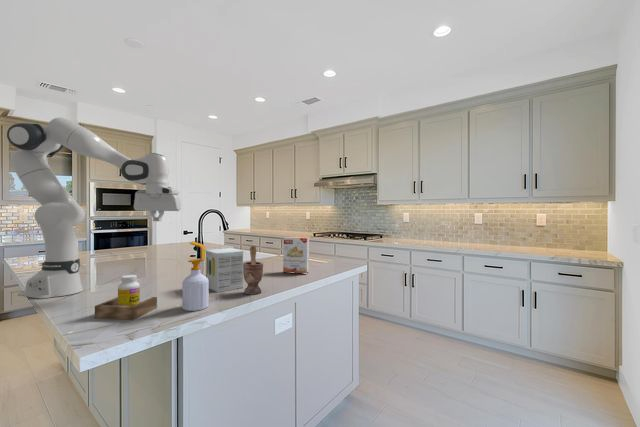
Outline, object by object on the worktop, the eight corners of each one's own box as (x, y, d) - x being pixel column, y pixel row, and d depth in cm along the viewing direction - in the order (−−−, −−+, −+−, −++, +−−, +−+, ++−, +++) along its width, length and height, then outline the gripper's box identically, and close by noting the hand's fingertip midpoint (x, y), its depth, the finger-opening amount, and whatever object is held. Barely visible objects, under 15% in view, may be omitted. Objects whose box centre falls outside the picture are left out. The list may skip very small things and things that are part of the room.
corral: (94, 317, 105) (94, 306, 105) (121, 306, 117) (121, 295, 117) (133, 319, 103) (133, 307, 103) (156, 307, 116) (156, 297, 116)
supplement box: (204, 286, 147) (204, 249, 147) (230, 282, 156) (231, 247, 156) (216, 292, 137) (216, 253, 137) (243, 287, 146) (243, 250, 146)
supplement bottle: (129, 315, 107) (129, 278, 107) (113, 314, 108) (113, 277, 108) (144, 309, 113) (144, 274, 113) (128, 308, 115) (128, 273, 115)
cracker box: (282, 273, 178) (283, 237, 178) (285, 271, 184) (286, 236, 184) (306, 274, 176) (307, 237, 175) (308, 272, 182) (309, 236, 181)
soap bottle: (187, 304, 121) (187, 240, 120) (211, 303, 121) (211, 240, 121) (178, 311, 112) (178, 243, 111) (204, 311, 112) (204, 243, 112)
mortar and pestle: (238, 290, 142) (238, 246, 141) (256, 287, 146) (256, 245, 146) (246, 296, 132) (247, 249, 132) (265, 293, 137) (266, 248, 136)
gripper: (130, 189, 136) (130, 221, 136) (175, 189, 134) (174, 221, 134) (140, 190, 142) (139, 220, 142) (182, 190, 140) (182, 221, 141)
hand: (157, 221), depth 138 cm, fingers closed
